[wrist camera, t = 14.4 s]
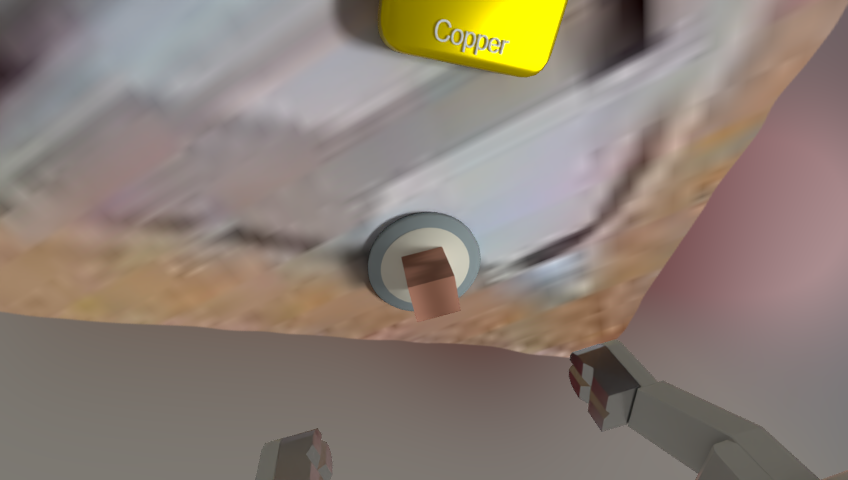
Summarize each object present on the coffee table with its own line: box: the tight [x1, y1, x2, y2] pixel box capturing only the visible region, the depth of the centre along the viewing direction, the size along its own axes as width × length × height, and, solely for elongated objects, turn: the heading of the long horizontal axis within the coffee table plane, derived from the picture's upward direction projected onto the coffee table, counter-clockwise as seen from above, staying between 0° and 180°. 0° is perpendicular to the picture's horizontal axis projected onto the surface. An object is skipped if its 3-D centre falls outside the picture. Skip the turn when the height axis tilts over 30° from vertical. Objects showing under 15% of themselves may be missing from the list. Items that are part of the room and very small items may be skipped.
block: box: [401, 247, 461, 322], centre depth 39 cm, size 5×5×6 cm
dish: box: [368, 212, 481, 311], centre depth 42 cm, size 14×14×1 cm
